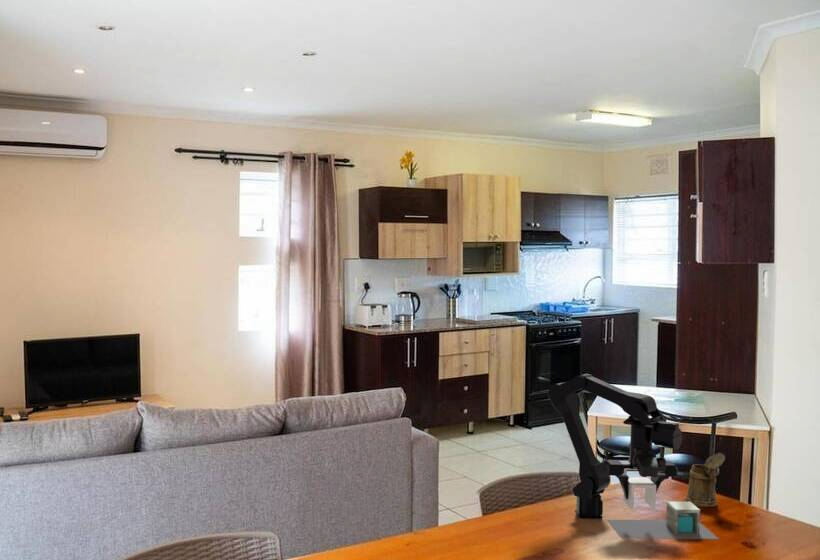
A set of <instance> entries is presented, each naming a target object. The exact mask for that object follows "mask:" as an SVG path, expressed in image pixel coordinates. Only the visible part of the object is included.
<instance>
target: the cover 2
mask: <svg viewBox="0 0 820 560" xmlns="http://www.w3.org/2000/svg"><path fill="white" fill-rule="evenodd" d="M678 512H679V513H689V514H690V515H691V516H692V517H693V531H694V532H696V533H697V534H699V531H700V523H701V509H700V508H698V506H695V505H694V504H693V503H691V502H685V501H666V516H665V517H666V519H665V520H666V525H667V526H668V527H669V528H670V529H671V530H672V531H673V532H674V533H678Z"/></svg>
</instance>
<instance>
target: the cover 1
mask: <svg viewBox="0 0 820 560" xmlns="http://www.w3.org/2000/svg"><path fill="white" fill-rule="evenodd" d="M628 477H629V479H628V500H627V499H626V498H625V495H624V494H623V502H624V503H625V504H626V505H627V506H628V507H629V509H632V510H633V509H635V489H638V488H639V489H644V502H645V503H646V504H647V505H648V506H649V507H650V508H651V509H653V510H656V506H657V505H656V503H657V493H656V484H655V483H653V482H652V481H651V478H649V477H630V476H628Z"/></svg>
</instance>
